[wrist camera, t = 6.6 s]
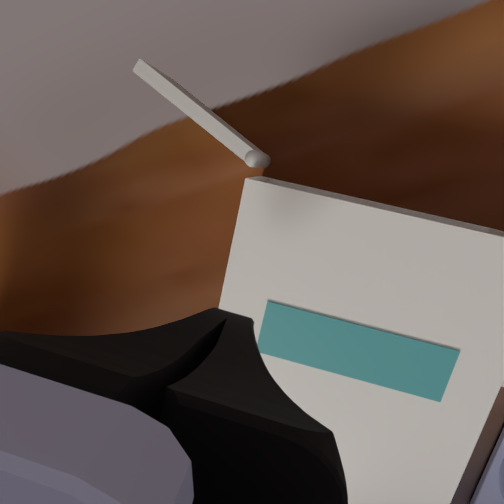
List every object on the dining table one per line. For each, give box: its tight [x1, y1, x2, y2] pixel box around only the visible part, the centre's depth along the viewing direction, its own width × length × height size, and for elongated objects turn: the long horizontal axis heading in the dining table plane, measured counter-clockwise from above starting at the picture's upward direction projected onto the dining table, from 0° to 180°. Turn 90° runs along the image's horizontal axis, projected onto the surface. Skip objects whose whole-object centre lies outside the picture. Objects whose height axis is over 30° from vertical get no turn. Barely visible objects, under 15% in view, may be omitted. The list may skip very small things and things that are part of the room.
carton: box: [219, 176, 504, 504], centre depth 19 cm, size 13×18×5 cm
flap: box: [132, 58, 271, 168], centre depth 17 cm, size 7×1×4 cm, turn 52°
